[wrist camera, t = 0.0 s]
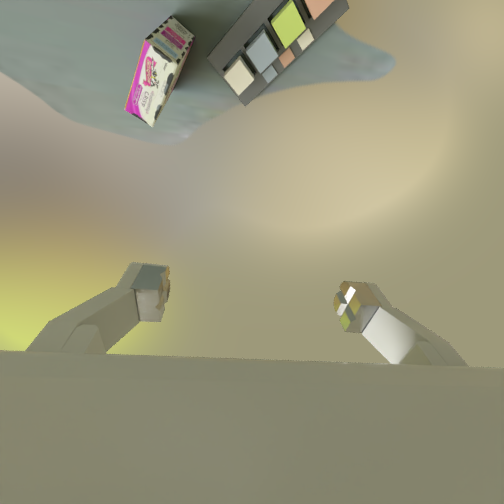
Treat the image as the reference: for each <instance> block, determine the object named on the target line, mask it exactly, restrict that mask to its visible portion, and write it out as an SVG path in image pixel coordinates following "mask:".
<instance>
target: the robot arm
mask: <svg viewBox="0 0 504 504" xmlns="http://www.w3.org/2000/svg"><path fill="white" fill-rule="evenodd" d="M169 272H170V271H169V266H165V265H156V264H147V263H145V264H144V263H136V262H132V263H130V264H129V266H128V268H127V270H126V271H125V273H124V274H123V276H122V278H121V279H120V281H119V283H118V284H117V286H116V287H115V288H110V289H108V290H106V291H104V292H102V293H100V294H99V295H97V296H95V297H93V298H91V299H90V300H88V301H86V302H84V303H82V304H80V305H78V306H77V307H75V308H73V309H71V310H69V311H68V312H66V313H64V314H62V315H60V316H58V317H57V318H54V319H53V320H51V321H49V322H48V323H47V325H46V326H45V327H44V328H43V330H42V331H41V332H40V333H39V334H38V336H37V337H36V338H35V339H34V341H33V342H32V343H31V344H30V346H29V347H28V348H27V349H26V351H4V350H0V504H504V368H494V367H493V368H492V367H469V366H468V365H467V364H466V362H465V361H464V360H463V359H462V358H461V356H460V355H459V354H458V353H457V352H456V350H455V349H454V348H453V347H452V346H451V345H450V343H449V342H447V341H446V340H444V339H443V338H441V337H440V336H438V335H437V334H435V333H434V332H432V331H431V330H429V329H427V328H426V327H425V326H423V325H421V324H420V323H419V322H417V321H415V320H414V319H412V318H411V317H409V316H408V315H406V314H405V313H403V312H402V311H400V310H399V309H397V308H393V307H392V305H391V304H390V303H389V301H388V300H387V299H386V297H385V296H384V294H383V293H382V292H381V290H380V289H379V288H378V286H377V285H376V284H374V283H366V282H364V283H362V282H350V281H344V282H343V283H342V284H341V285H340V290H341V291H340V292H338V293H337V294H336V296H335V298H334V309H335V311H336V313H337V314H338V315H340V316H341V318H340V322H341V324H342V326H343V329H344V331H345V332H353V333H362V335H363V336H364V337H365V338H366V339H367V340H368V341H369V342H370V343H371V344H372V345H373V346H374V347H375V348H376V349H377V350H378V351H379V352H380V353H381V354H382V355H383V356H384V357H385V358H386V359H387V360H388V361H389V362H390V363H391V364H378V363H351V362H322V361H320V362H319V361H292V360H263V359H236V358H205V357H177V356H149V355H119V354H106V352H107V351H108V350H109V349H110V348H111V347H112V346H113V345H114V344H116V342H118V341H119V340H120V339H121V338H122V337H123V336H125V334H127V333H128V332H129V331H130V330H131V329H132V328H133V327H134V326H136V325H137V324H138V323H139V321H149V322H161V319H162V316H163V313H164V310H165V307H164V304H165V303H166V302H167V300H168V297H169V292H170V280H169V279H168V276H169V274H170V273H169Z"/></svg>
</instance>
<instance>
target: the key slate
mask: <svg viewBox="0 0 504 504" xmlns="http://www.w3.org/2000/svg"><path fill="white" fill-rule="evenodd" d="M246 53H247V55H248V56H249V58H250V59H251V61H252V62H253V64H254V65H255V67H256V68H257V69H258V71H259V72H260V74H261V73H262V72H263V71H264V70H265V69H266V68H267V67H268V66H269V65H270V64H271V63H272V62H273V61H274V60H275V59H276V58H277V57H278V53H277V51H276V49H275V47H274V45H273V44H272V42H271V40H270V39H269V37H268V35H267V34H266V32H265V30H264V29H263V30H262V31H261V33H260V34H259V35H258V36H257V37H256V38H255V39H254V40H253V41H252V43H251V44H250V45H249V46H248V47H247V48H246Z"/></svg>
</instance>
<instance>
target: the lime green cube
mask: <svg viewBox="0 0 504 504" xmlns="http://www.w3.org/2000/svg"><path fill="white" fill-rule="evenodd" d="M271 24H272V26H273V28H274V29H275V31H276V33H277V35H278V37H279V38H280V40H281V42H282V44H283V45H284V47H285V49H286V48H287V47H288V46H289V45H290V44H291V43H292V42H293V41H294V40H295V39H296V38H297V37H298V36H299V35H300V34H301V33H302V32H303V31H304V30H305V29H306V27H305V25H304V23H303V21H302V19H301V17H300V15H299V13H298V11H297V9H296V7H295V5H294V3H293V1H292V0H289V1H288V3H287V4H286V5H285V6H284V7H283V8H282V9H281V10H280V11H279V13H278V14H277V15H276V16H275V17H274V18H273V19H272V20H271Z"/></svg>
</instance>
